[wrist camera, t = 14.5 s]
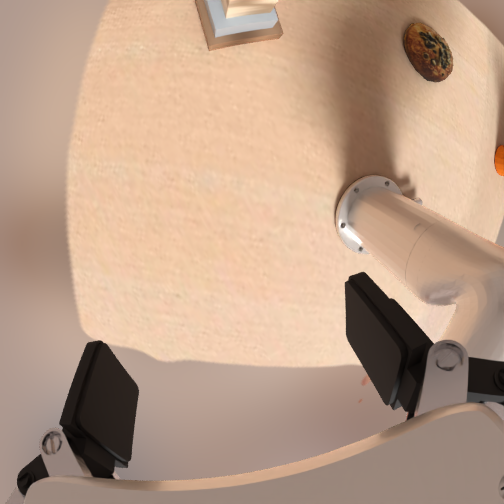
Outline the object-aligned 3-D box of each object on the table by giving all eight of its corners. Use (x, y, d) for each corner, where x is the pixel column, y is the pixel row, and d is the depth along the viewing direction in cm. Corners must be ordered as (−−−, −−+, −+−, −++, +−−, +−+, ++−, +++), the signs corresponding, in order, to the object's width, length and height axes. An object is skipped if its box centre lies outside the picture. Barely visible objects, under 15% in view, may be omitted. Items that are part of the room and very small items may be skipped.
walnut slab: (260, -12, 24) (265, -21, 22) (277, 40, 28) (283, 33, 26) (194, -1, 24) (193, -10, 21) (209, 52, 28) (209, 45, 25)
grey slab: (258, -15, 22) (262, -25, 19) (272, 27, 25) (278, 19, 22) (202, -6, 22) (202, -16, 19) (214, 37, 25) (215, 29, 22)
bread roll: (410, 81, 32) (431, 75, 27) (389, 22, 28) (407, 12, 23) (451, 86, 33) (470, 82, 28) (433, 32, 29) (450, 25, 24)
